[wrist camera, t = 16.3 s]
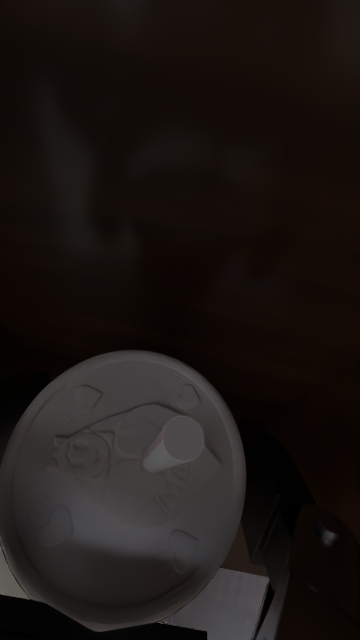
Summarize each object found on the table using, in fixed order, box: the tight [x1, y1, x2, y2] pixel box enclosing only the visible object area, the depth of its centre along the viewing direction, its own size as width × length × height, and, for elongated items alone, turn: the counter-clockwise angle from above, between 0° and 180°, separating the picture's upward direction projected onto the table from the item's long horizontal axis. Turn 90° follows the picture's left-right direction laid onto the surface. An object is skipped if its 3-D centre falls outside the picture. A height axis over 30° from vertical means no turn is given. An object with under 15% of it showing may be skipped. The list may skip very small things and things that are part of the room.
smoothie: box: [0, 350, 246, 632], centre depth 9 cm, size 6×6×14 cm
